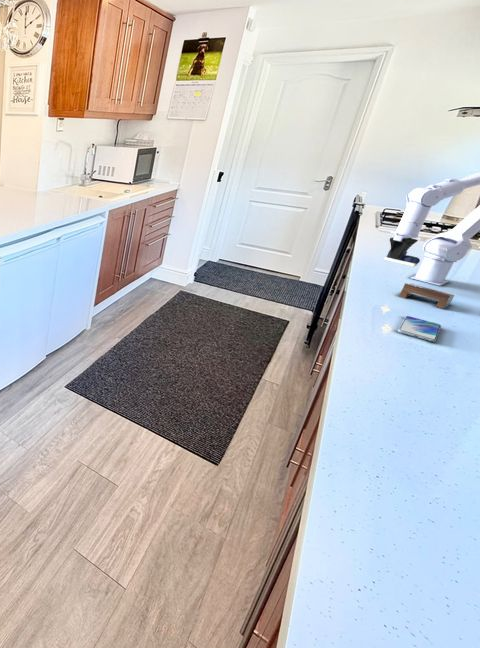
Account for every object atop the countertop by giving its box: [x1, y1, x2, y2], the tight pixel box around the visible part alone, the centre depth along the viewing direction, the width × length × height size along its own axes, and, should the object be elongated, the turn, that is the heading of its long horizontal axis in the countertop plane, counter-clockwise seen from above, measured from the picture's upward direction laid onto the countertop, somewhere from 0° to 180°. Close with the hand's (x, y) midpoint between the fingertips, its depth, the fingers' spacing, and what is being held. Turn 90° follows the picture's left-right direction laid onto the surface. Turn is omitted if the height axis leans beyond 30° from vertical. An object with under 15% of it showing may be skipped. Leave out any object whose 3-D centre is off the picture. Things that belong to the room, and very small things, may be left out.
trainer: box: [384, 248, 421, 268], centre depth 147 cm, size 8×4×4 cm, turn 29°
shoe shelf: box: [398, 283, 456, 310], centre depth 133 cm, size 7×10×5 cm
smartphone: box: [397, 315, 442, 343], centre depth 113 cm, size 7×1×15 cm
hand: (395, 257), depth 149 cm, fingers closed on trainer, 3 cm apart
